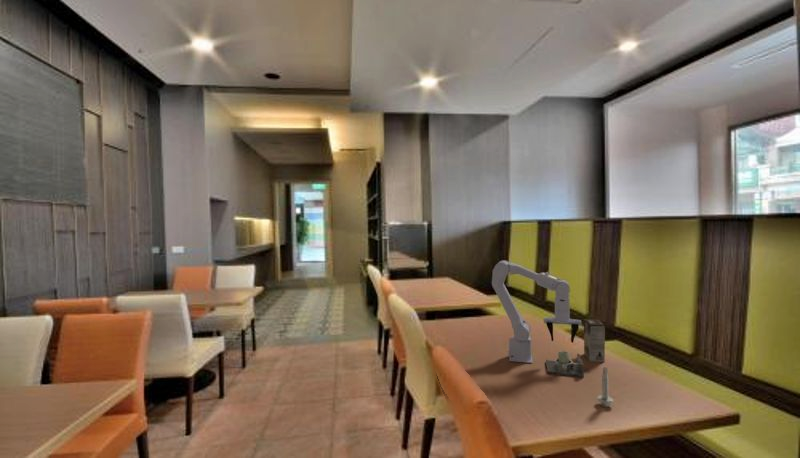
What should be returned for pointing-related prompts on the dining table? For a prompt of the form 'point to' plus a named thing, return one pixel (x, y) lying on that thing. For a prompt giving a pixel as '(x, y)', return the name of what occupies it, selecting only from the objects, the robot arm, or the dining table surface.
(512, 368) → the dining table surface
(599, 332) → the coffee box
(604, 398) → the screw
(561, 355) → the grey-green rounded cylinder
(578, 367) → the cup bracket
